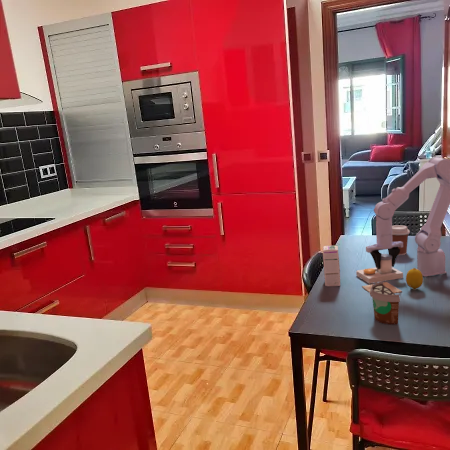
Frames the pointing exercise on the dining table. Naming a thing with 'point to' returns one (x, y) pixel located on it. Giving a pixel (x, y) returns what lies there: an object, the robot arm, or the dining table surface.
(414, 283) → the lemon
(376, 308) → the food container
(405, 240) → the coffee cup
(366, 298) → the dining table surface
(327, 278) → the syrup box
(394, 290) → the birch board
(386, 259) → the cylinder
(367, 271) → the orange dome button
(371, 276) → the beige flat frame
